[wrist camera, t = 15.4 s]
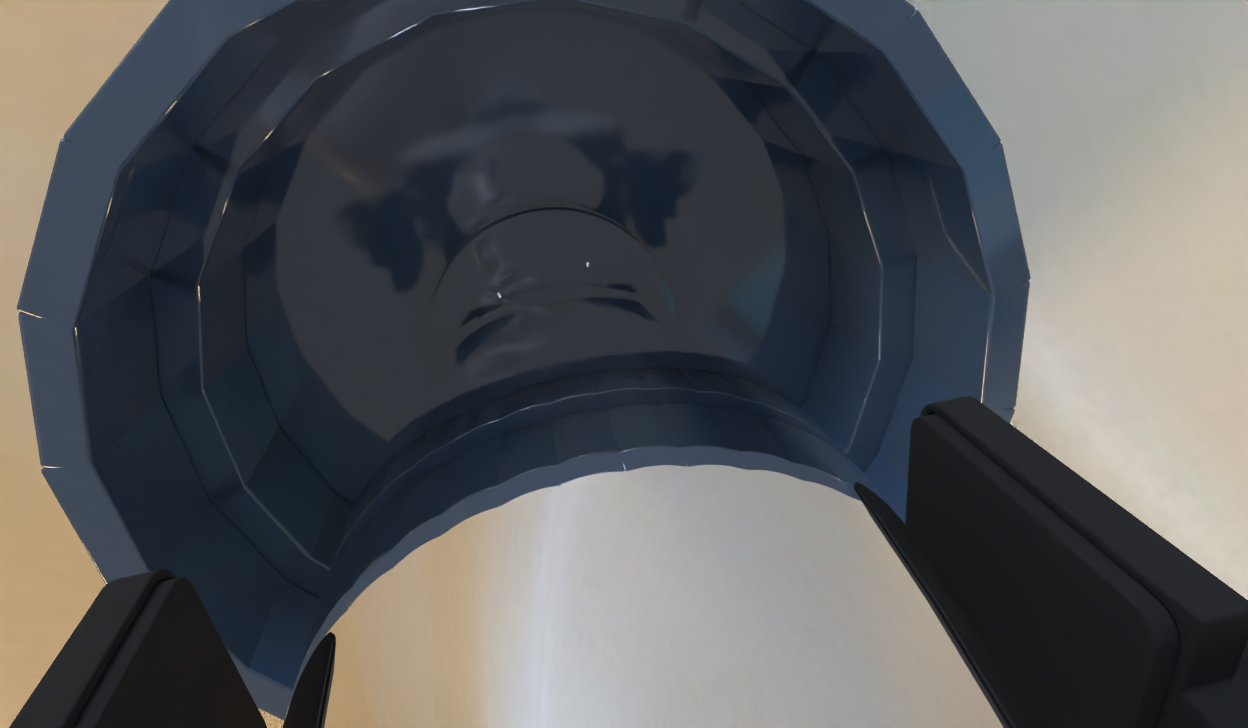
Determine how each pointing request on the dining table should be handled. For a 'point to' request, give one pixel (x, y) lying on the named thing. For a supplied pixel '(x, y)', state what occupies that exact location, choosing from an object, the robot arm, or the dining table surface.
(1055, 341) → the dining table surface
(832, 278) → the bowl
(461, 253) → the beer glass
